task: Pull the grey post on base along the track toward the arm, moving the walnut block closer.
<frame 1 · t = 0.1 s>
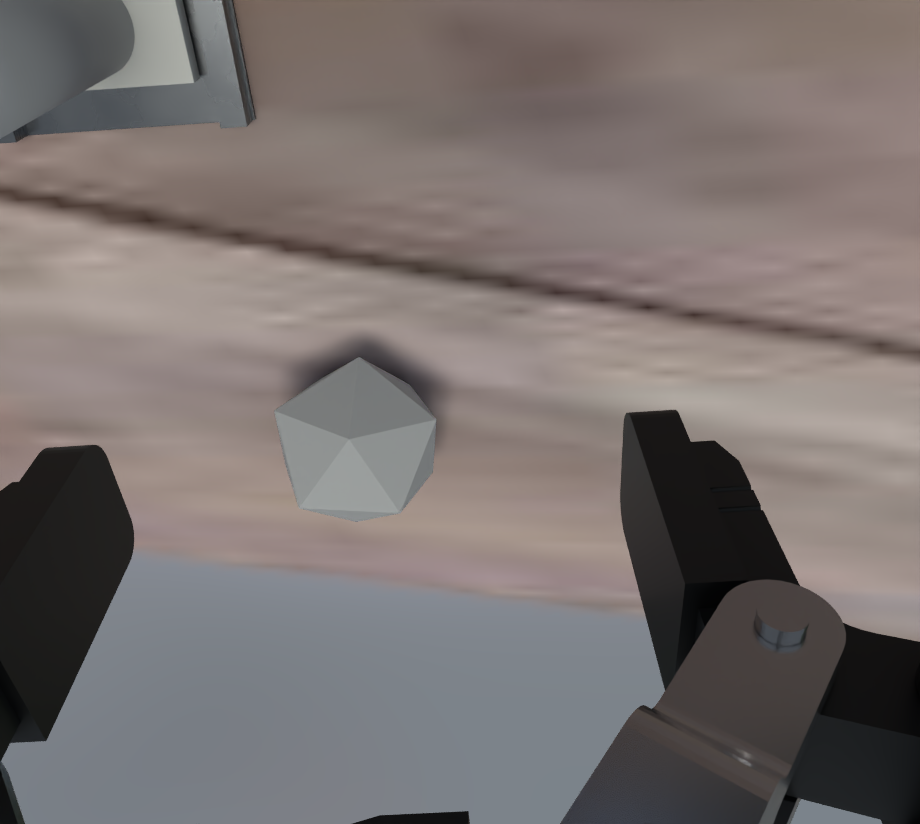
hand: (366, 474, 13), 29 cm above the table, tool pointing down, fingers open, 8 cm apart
die: (364, 402, 47), on the table
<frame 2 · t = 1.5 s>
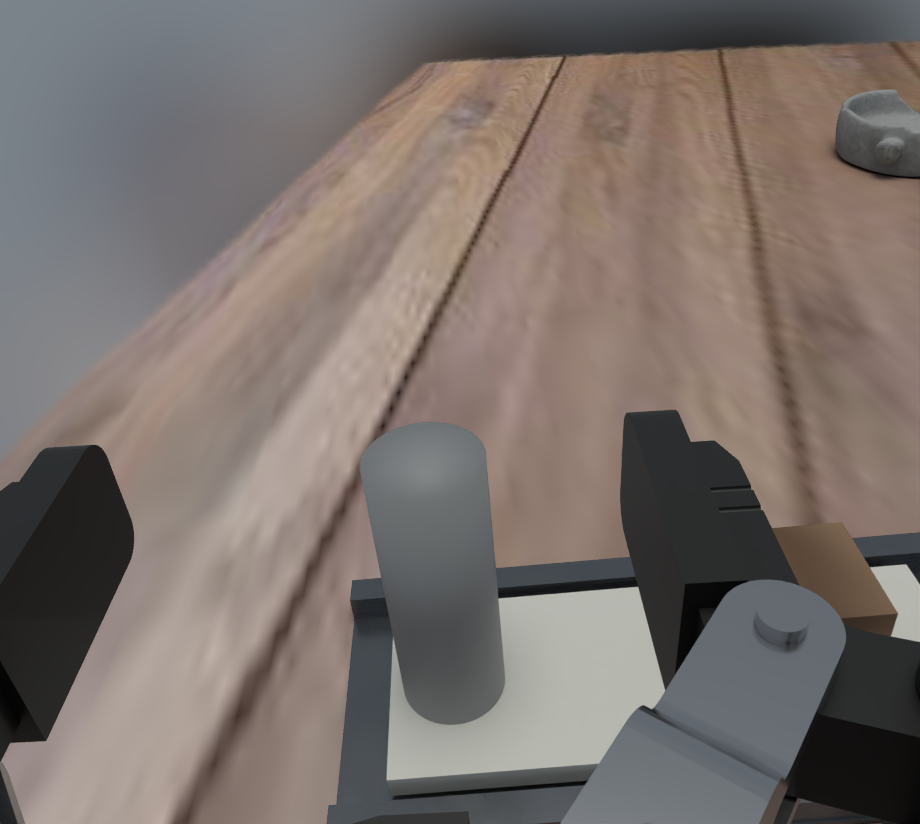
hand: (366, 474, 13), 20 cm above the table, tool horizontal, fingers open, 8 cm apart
track: (769, 678, 33), on the table
walnut block: (787, 652, 32), point 1 cm above the table, touching grey post on base
dish: (909, 161, 79), on the table
grey post on base: (679, 571, 29), point 6 cm above the table, slide at 0.0 cm, touching walnut block
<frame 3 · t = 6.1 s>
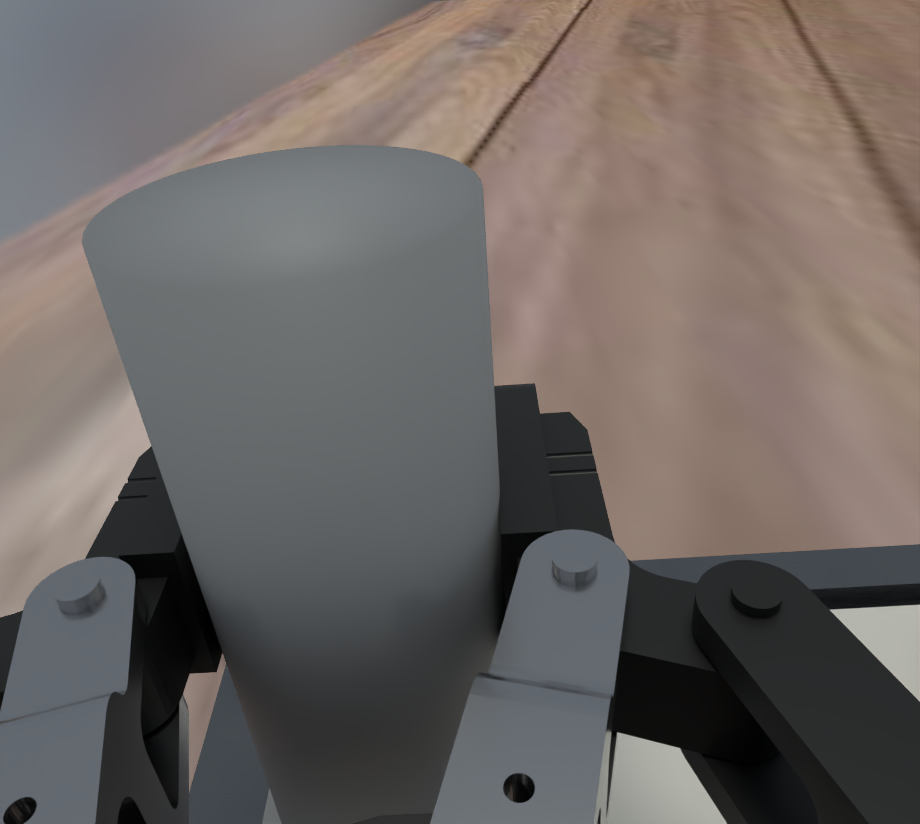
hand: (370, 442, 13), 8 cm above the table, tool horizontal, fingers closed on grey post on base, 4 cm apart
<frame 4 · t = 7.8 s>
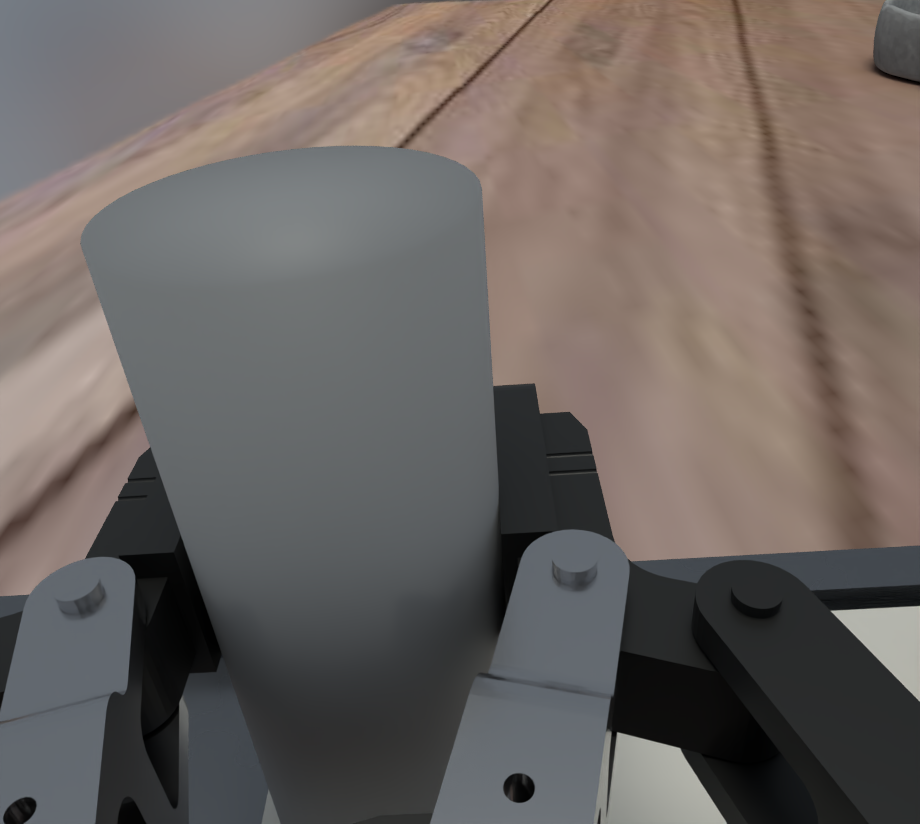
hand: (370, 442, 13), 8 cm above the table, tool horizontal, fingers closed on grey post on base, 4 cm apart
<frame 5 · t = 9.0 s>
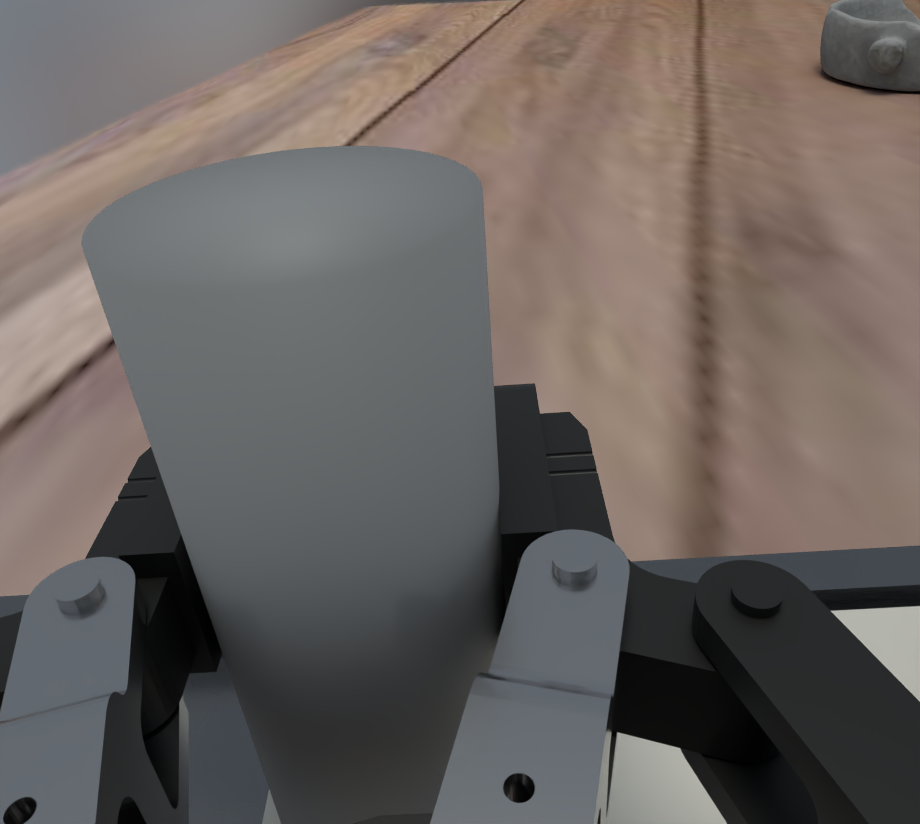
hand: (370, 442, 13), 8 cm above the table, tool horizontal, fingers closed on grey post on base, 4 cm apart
dish: (913, 80, 62), on the table
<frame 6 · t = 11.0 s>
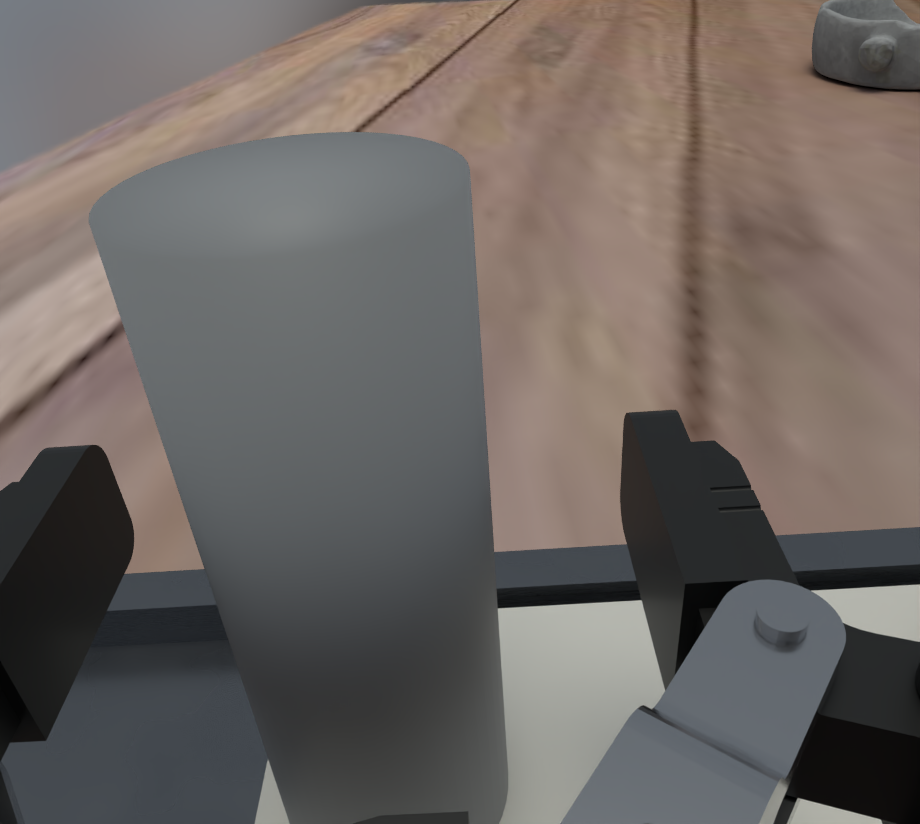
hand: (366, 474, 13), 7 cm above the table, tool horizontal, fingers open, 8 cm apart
track: (540, 819, 16), on the table
dish: (904, 78, 62), on the table
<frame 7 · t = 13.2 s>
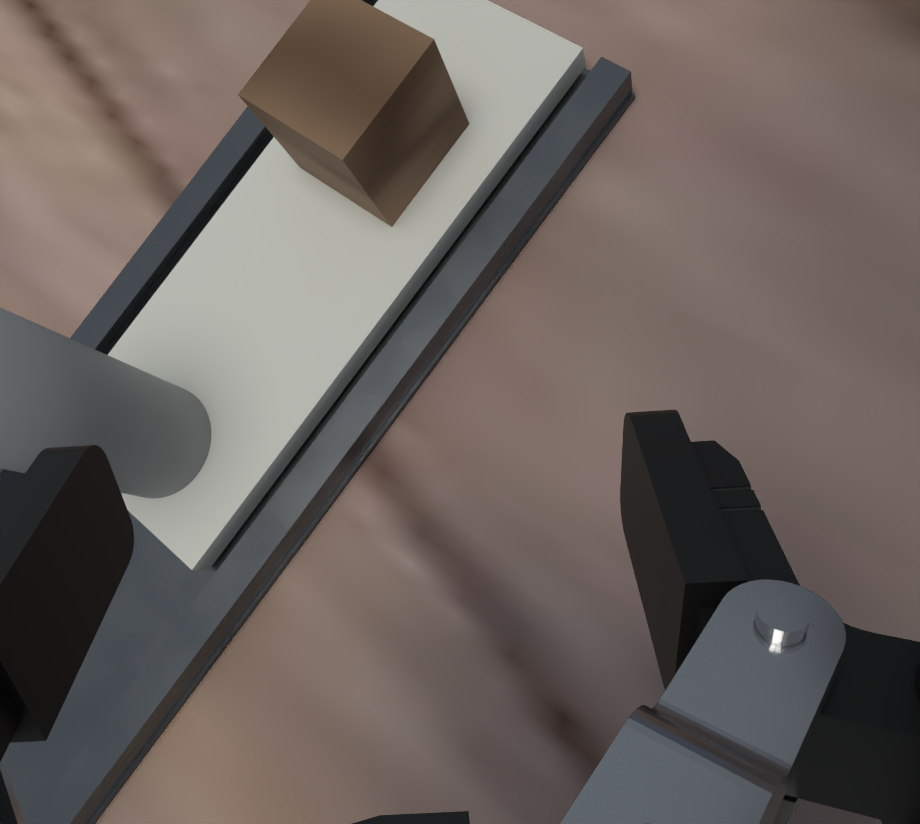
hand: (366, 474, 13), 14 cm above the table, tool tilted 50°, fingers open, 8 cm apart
track: (226, 392, 30), on the table
walnut block: (382, 146, 29), point 1 cm above the table, touching grey post on base
grey post on base: (235, 177, 24), point 6 cm above the table, slide at 9.9 cm, touching walnut block
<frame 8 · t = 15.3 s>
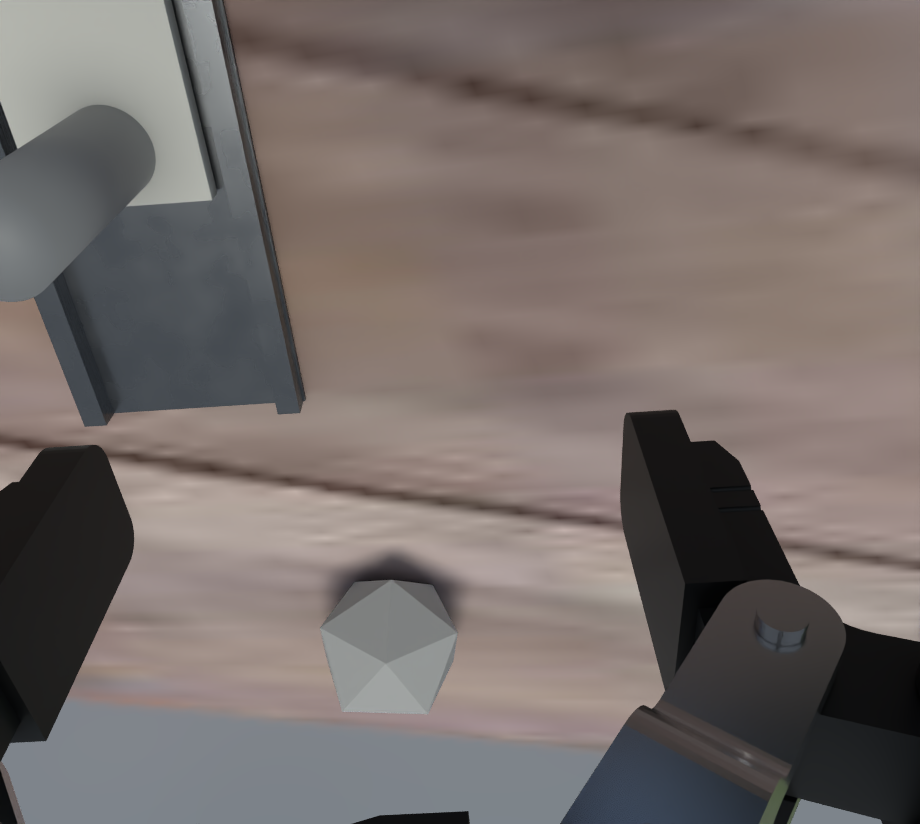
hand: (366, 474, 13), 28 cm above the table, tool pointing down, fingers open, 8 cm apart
track: (103, 83, 36), on the table
die: (393, 596, 54), on the table
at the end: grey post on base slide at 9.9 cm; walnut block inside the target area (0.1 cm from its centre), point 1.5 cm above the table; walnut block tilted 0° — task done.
